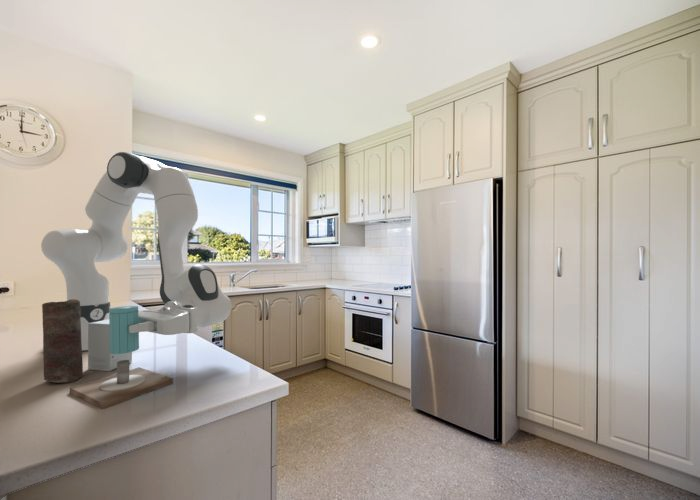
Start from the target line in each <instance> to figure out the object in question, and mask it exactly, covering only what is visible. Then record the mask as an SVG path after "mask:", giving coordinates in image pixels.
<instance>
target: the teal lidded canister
mask: <svg viewBox="0 0 700 500" xmlns="http://www.w3.org/2000/svg"><path fill="white" fill-rule="evenodd" d="M138 311H139V306H138V305H123V306H115V307H111V308H110V309H109V331H110V353H111V354H123V353H129V352H132V353H133V352H136V351H138V350H139V349H140V332H136V333H129V332H127V325H131V324H139V314H138Z"/></svg>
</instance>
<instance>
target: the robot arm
mask: <svg viewBox="0 0 700 500" xmlns="http://www.w3.org/2000/svg"><path fill="white" fill-rule="evenodd" d="M193 191H194V190H193V188H192V186H191V183H190V181H189V179H188V177H187V175H186V173H185V172H184V170H181V169H180V168H177V167H175V166H174V167H173V166H169V165H165V164H164V163H162V162H160V161H158V160H156V159H152V158H148V157H145V156H140V155H137V154H135V153H131V152H126V151H125V152H123V151H120V152H117V153H115V154H114V155H112V156H111V158H110V159H109V161H108V162H107V167H106V171H105V172H104V174H103V175H102V177H101V178H100V179H99V181H98V183H97V184H96V186H95V188H94V189H93V191H92V194H91V196H90V197H89V199H88V202H87V203H86V205H85V208H84V211H85V214H86V215H87V217H88V219H90V220H91V221H92V224H91V227H89V229H82V228H80V229H79V228H78V229H77V228H64V229H63V228H62V229H55V230H51V231H49V232H47V233H46V234H45V235H44V236H43V238H42V241H41V243H40V245H41V246H40V247H41V252H42V254H43V255H44V257H45V258H46V259H48V260H49V261H50V262H52V263H54V265H56V266H57V267H58V269H59V270H60V272H61V273H62V275H63V278H64V280H65V285H66V286H65V287H66V301H68V300H70V299H74V300H78V301H80V313H81V314H80V315H81V342H82V352H83V351H88V324H89V323H93V322H98V321H102V320H107V319H109V309H110V308H112V307H111V302H110V299H109V298H110V297H109V296H110V295H109V293H110V291H109V284H110V283H109V279H108V278H107V277H106V276H105V275H103V274H101V273H99V271H98V270H97V268H96V264H95V263H103V262H111V261H115V260H118V259H121V258H123V257H124V256H125V255H126V253H127V250H128V247H129V246H128V241H127V238H126V237H124V235H123V227H124V223H125V220H126V218H127V216H128V215H129V213H130V211H131V208H133V204H134V203H135V202H136V199H137V196H138V195H139V194H140V193H141V194H147V195H152V196H153V197H154V204H155V209H156V214H157V225H158V227H157V228H158V229H157V246H158V247H157V248H158V255H159V257H158V258H159V264H160V270H161V271H160V272H161V281H160V286H159V287H160V288H159V296H160V299H161V300H162V302H163V303H164V305H163V307H161V308H159V310H158V309H157V310H156V309H141V310H138V314H139V324H131V325H127V332H129V333H136V332H139V333H142V332H145V333H147V332H148V333H153V334H158V335H164V336H173V335H179V334H194V333H197V332H198V328H200V329H202V328H203V329H204V328H207V327H211V326H214V325H218V324H220V323H222V322H224V321H225V320H226V319H227V318H228V317H229V315H230V314H231V311H232V301H231V299H230V297H229V296H228V295H226V294H225V293H224V292H223V290H222V289H221V287H220V286H219V284H218V279H217V275H216V273H215V271H213V269H212V268H210V267H209V266H207V265H205V264H202V263H198V264H194V265H192V266H190V267H188V268H187V269H184V261H183V253H182V251H183V250H182V249H183V244H184V242H185V240H186V238H187V236H188V234H189V233H190V231H192V229H193V228H194V226H195V225H196V223H197V221H198V220H199V219H198V217H199V211H198V205H197V200H196V197H195V194H194V192H193Z"/></svg>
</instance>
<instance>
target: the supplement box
mask: <svg viewBox="0 0 700 500" xmlns="http://www.w3.org/2000/svg"><path fill="white" fill-rule="evenodd" d="M121 360H129V364H131V363H133V361H132V360H133V352H129V353H123V354H111V353H110V331H109V319H107V320H102V321H98V322H93V323H89V324H88V350H87V369H88V370H92V371H94V370H95V371H104V372H111V371H112V370H115V369H117V362H118V361H121Z"/></svg>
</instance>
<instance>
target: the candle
mask: <svg viewBox="0 0 700 500" xmlns="http://www.w3.org/2000/svg"><path fill="white" fill-rule="evenodd" d="M41 310H42V340H43V341H42V345H43V346H42V351H43V381H47V382H50V383H51V382H52V383H55V384H56V383H59V384H60V383H66V384H68V383H73V382H76V381H78V380H79V379H80V378H82V377H83V376H84V375H83V373H84V371H83V368H84V365H83V363H84V362H83V351H82V342H81V315H80V314H81V313H80V301H78V300H74V299H70V300H68V301H67V300H66V301H50V302H45V303H42V304H41Z"/></svg>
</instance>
